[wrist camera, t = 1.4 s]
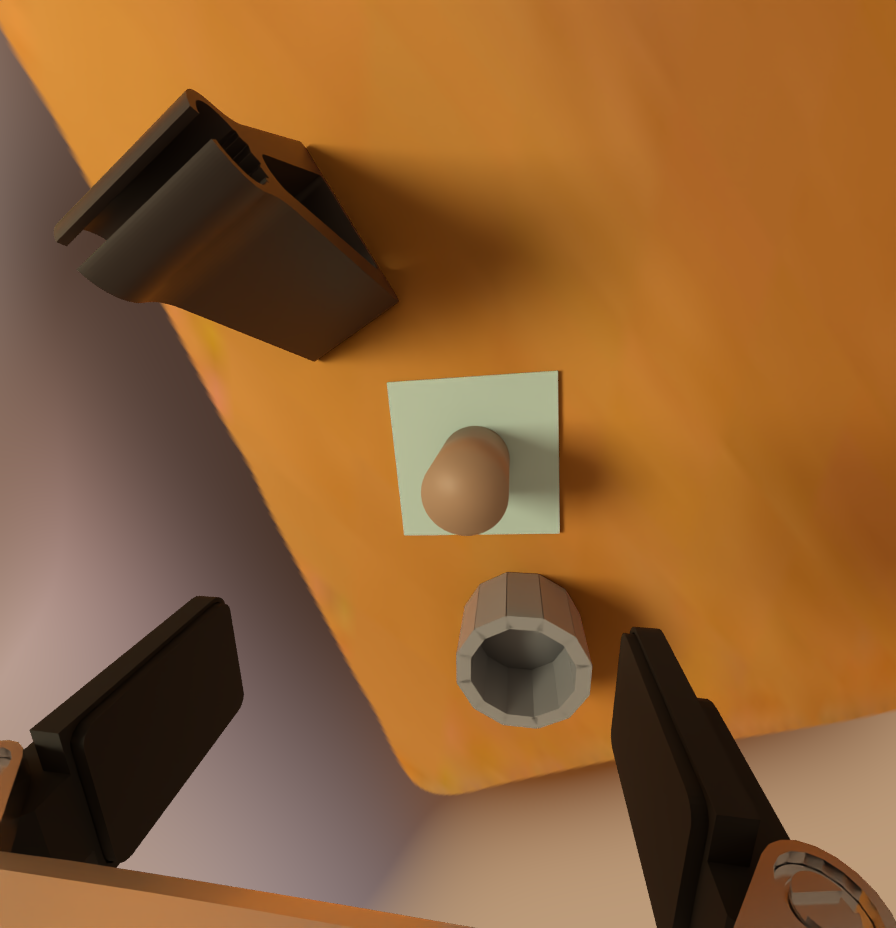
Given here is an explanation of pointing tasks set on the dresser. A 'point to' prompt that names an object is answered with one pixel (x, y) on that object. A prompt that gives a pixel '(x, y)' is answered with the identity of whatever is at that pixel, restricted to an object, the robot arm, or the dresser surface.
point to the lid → (477, 454)
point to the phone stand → (230, 233)
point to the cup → (523, 652)
